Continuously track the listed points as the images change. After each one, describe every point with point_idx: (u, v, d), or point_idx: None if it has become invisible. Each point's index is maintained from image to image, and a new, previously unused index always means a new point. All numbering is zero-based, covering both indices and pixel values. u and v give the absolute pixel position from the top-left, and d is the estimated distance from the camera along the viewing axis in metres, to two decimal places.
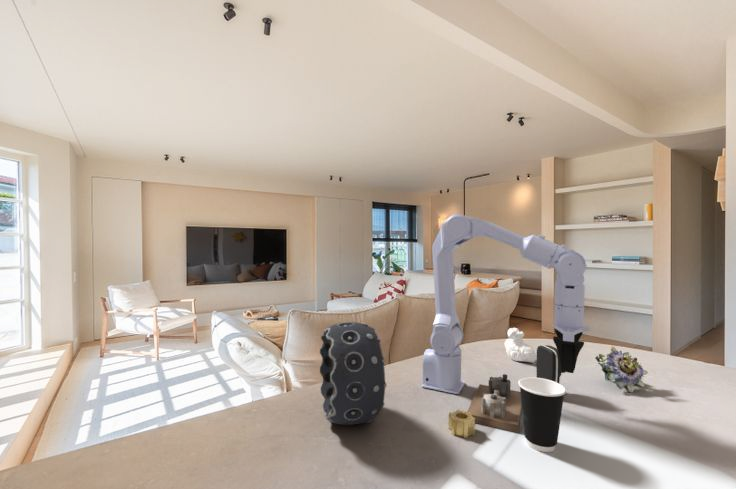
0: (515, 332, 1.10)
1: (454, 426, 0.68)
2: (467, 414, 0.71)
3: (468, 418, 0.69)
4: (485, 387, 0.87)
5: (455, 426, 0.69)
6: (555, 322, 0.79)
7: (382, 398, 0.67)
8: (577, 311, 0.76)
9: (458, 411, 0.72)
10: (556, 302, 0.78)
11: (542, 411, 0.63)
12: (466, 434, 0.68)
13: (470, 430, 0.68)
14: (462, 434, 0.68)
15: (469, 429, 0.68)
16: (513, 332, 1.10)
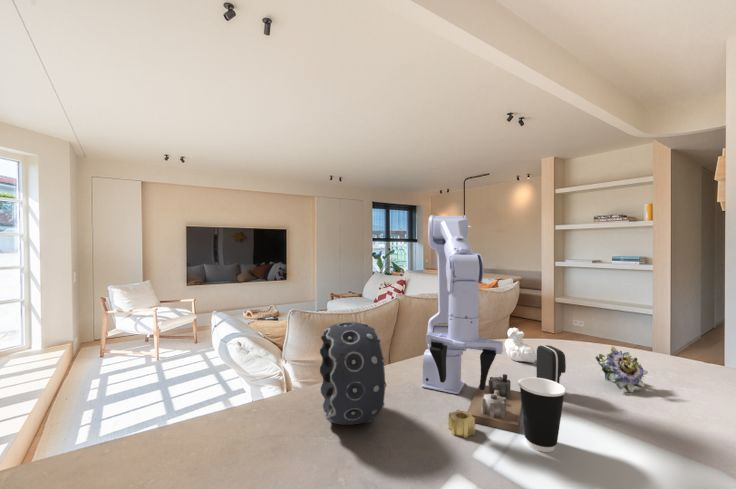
0: (515, 332, 1.10)
1: (454, 426, 0.68)
2: (467, 414, 0.71)
3: (468, 418, 0.69)
4: (485, 387, 0.87)
5: (455, 426, 0.69)
6: None
7: (382, 398, 0.67)
8: (449, 320, 0.69)
9: (458, 411, 0.72)
10: None
11: (542, 411, 0.63)
12: (466, 434, 0.68)
13: (470, 430, 0.68)
14: (462, 434, 0.68)
15: (469, 429, 0.68)
16: (513, 332, 1.10)
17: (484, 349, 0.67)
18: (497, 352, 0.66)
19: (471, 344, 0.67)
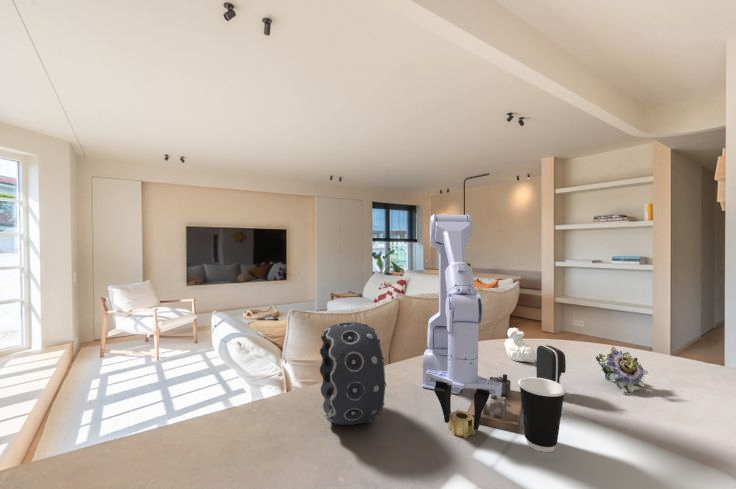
0: (515, 332, 1.10)
1: (454, 426, 0.68)
2: (467, 414, 0.71)
3: (468, 418, 0.69)
4: None
5: (455, 426, 0.69)
6: None
7: (382, 398, 0.67)
8: (448, 360, 0.69)
9: (458, 411, 0.72)
10: None
11: (542, 411, 0.63)
12: (466, 434, 0.68)
13: (470, 430, 0.68)
14: (462, 434, 0.68)
15: (469, 429, 0.68)
16: (513, 332, 1.10)
17: (483, 390, 0.68)
18: (496, 394, 0.66)
19: (470, 386, 0.67)
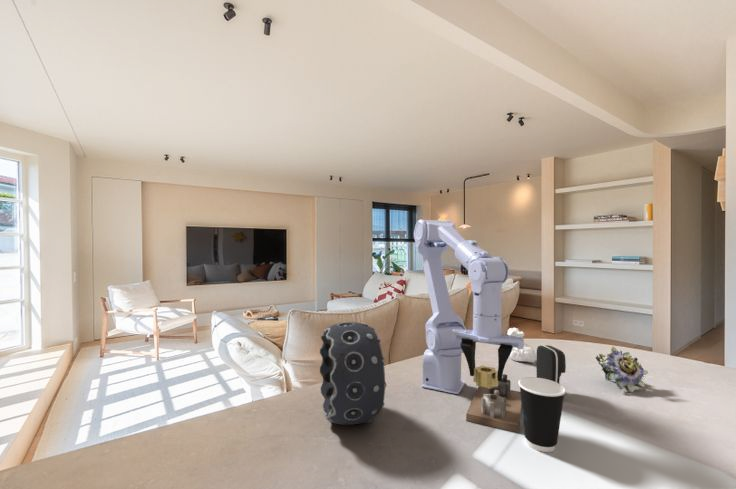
0: (515, 332, 1.10)
1: (479, 378, 0.75)
2: (491, 368, 0.77)
3: (492, 371, 0.75)
4: (485, 387, 0.87)
5: (480, 378, 0.75)
6: None
7: (382, 398, 0.67)
8: (474, 317, 0.76)
9: (482, 366, 0.78)
10: None
11: (542, 411, 0.63)
12: (490, 385, 0.74)
13: (494, 382, 0.75)
14: (486, 385, 0.74)
15: (493, 381, 0.74)
16: (513, 332, 1.10)
17: (506, 344, 0.74)
18: (519, 347, 0.72)
19: (495, 340, 0.73)
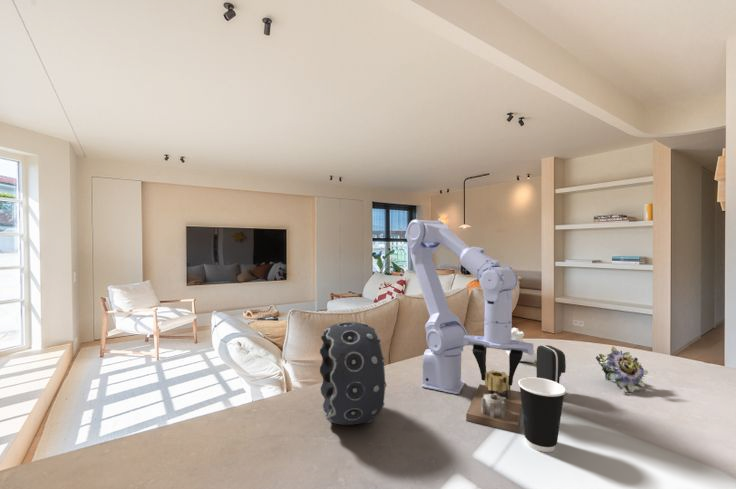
0: (515, 332, 1.10)
1: (490, 382, 0.78)
2: (501, 373, 0.80)
3: (503, 376, 0.78)
4: (485, 387, 0.87)
5: (492, 383, 0.78)
6: None
7: (382, 398, 0.67)
8: (485, 324, 0.79)
9: (493, 371, 0.81)
10: None
11: (542, 411, 0.63)
12: (502, 389, 0.77)
13: (505, 386, 0.78)
14: (498, 389, 0.77)
15: (504, 385, 0.78)
16: (513, 332, 1.10)
17: (517, 350, 0.77)
18: (529, 353, 0.75)
19: (506, 346, 0.76)
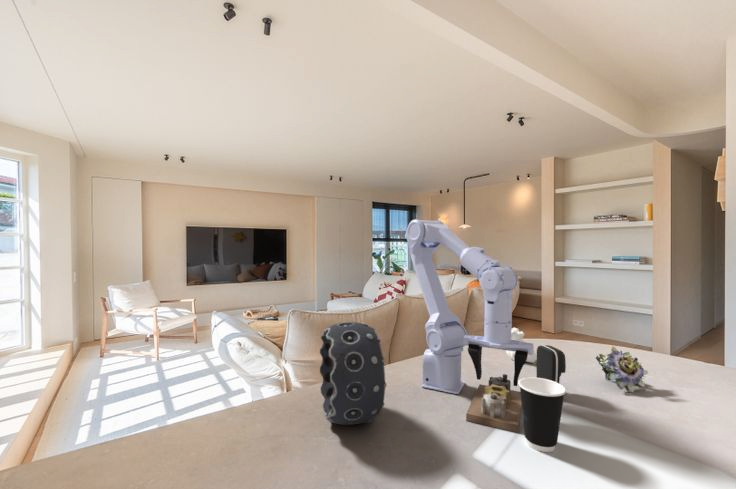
0: (515, 332, 1.10)
1: None
2: (501, 387, 0.80)
3: (503, 391, 0.78)
4: None
5: None
6: None
7: (382, 398, 0.67)
8: (485, 324, 0.79)
9: (493, 385, 0.81)
10: None
11: (542, 411, 0.63)
12: None
13: None
14: None
15: None
16: (513, 332, 1.10)
17: (517, 350, 0.77)
18: (529, 353, 0.75)
19: (506, 346, 0.76)
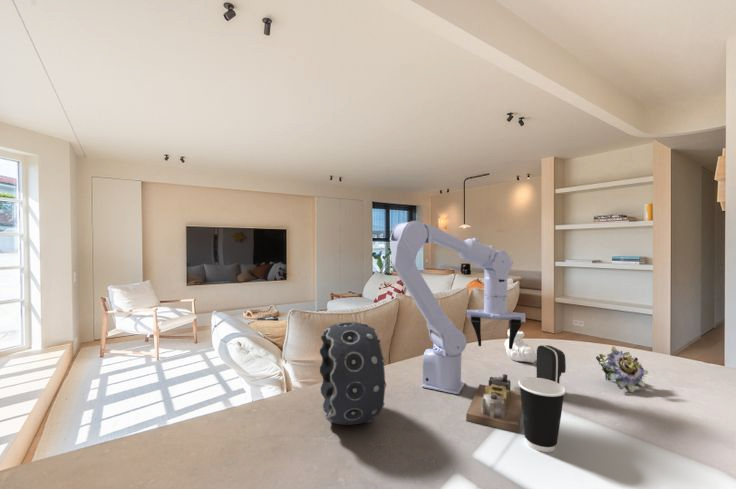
0: None
1: None
2: (501, 387, 0.80)
3: (503, 391, 0.78)
4: None
5: None
6: None
7: (382, 398, 0.67)
8: (486, 299, 0.93)
9: (493, 385, 0.81)
10: (490, 294, 0.92)
11: (542, 411, 0.63)
12: None
13: None
14: None
15: None
16: None
17: (512, 319, 0.92)
18: (522, 320, 0.91)
19: (504, 316, 0.91)
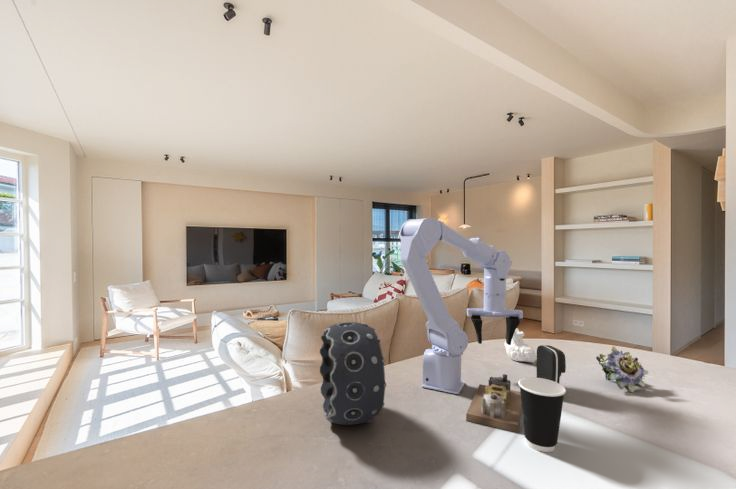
0: (515, 332, 1.10)
1: None
2: (501, 387, 0.80)
3: (503, 391, 0.78)
4: None
5: None
6: None
7: (382, 398, 0.67)
8: (487, 297, 0.96)
9: (493, 385, 0.81)
10: (491, 293, 0.95)
11: (542, 411, 0.63)
12: None
13: None
14: None
15: None
16: None
17: (510, 316, 0.97)
18: (520, 317, 0.96)
19: (504, 313, 0.95)
